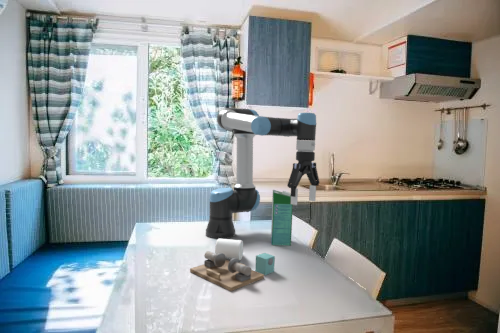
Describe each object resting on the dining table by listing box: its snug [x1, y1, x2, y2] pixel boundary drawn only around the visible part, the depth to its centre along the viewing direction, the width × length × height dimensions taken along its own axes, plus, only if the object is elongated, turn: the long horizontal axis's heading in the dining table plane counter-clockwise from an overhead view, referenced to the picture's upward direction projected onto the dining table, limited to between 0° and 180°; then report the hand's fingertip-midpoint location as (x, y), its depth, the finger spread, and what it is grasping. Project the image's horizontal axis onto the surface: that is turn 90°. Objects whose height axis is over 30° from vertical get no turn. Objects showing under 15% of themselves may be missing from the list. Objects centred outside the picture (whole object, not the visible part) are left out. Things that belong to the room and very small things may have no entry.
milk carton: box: [270, 189, 294, 247], centre depth 166 cm, size 9×9×25 cm
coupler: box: [254, 252, 276, 276], centre depth 130 cm, size 6×5×6 cm
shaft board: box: [189, 251, 265, 292], centre depth 125 cm, size 22×16×7 cm
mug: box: [214, 238, 244, 261], centre depth 144 cm, size 12×10×8 cm
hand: (303, 202), depth 143 cm, fingers open, 13 cm apart
